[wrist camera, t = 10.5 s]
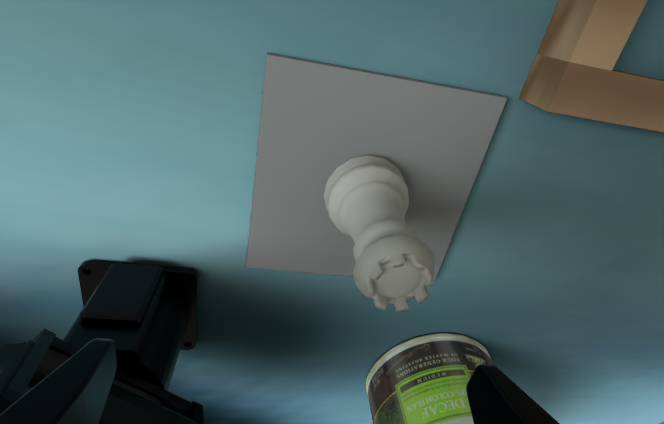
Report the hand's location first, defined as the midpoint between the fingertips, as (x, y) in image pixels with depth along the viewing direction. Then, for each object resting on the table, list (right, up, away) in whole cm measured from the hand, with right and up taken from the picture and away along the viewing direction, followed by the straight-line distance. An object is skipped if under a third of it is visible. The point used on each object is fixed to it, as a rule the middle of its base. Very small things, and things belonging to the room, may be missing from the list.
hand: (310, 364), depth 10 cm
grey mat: (+2, +5, +12) cm, 13 cm away
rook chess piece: (+2, +5, +12) cm, 13 cm away
